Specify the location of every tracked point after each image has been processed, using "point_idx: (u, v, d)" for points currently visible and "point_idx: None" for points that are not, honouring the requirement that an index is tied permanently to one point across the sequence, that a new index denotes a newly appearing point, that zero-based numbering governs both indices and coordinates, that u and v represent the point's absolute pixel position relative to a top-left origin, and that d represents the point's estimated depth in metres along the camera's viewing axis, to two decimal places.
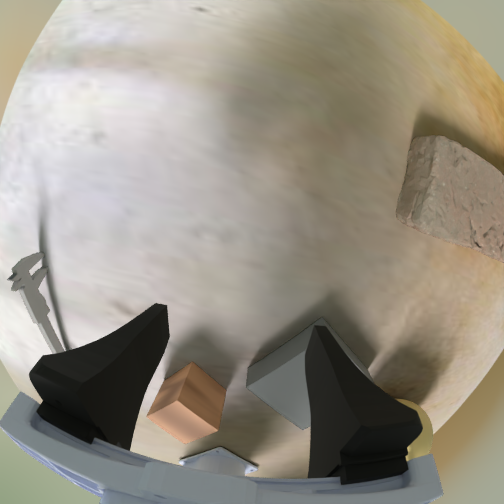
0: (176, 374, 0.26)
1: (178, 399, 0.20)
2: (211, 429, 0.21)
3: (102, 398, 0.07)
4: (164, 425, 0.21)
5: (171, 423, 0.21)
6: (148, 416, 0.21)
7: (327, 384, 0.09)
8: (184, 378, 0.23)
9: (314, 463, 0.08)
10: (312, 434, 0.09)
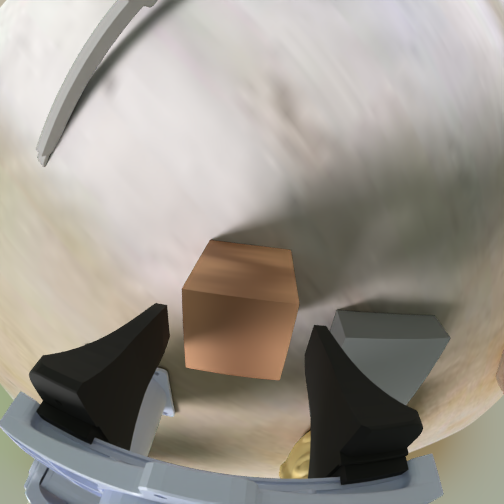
0: (250, 248, 0.16)
1: (298, 303, 0.11)
2: (272, 373, 0.13)
3: (102, 398, 0.07)
4: (198, 323, 0.12)
5: (219, 329, 0.12)
6: (187, 291, 0.11)
7: (327, 384, 0.09)
8: (290, 268, 0.14)
9: (314, 463, 0.08)
10: (312, 434, 0.09)
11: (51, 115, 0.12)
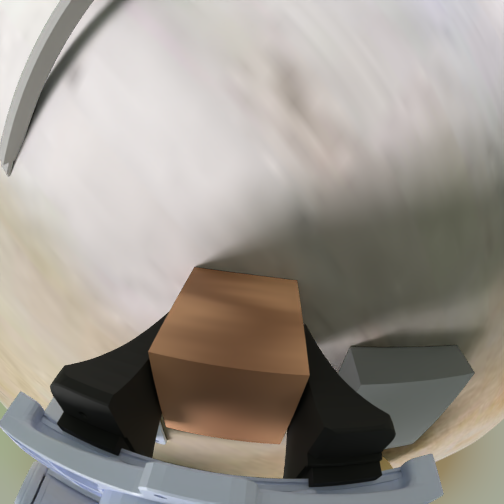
0: (245, 280, 0.12)
1: (308, 372, 0.08)
2: (271, 439, 0.09)
3: (130, 408, 0.06)
4: (175, 389, 0.08)
5: (202, 398, 0.08)
6: (156, 355, 0.08)
7: None
8: (296, 312, 0.11)
9: (288, 463, 0.08)
10: (288, 433, 0.09)
11: (9, 117, 0.09)
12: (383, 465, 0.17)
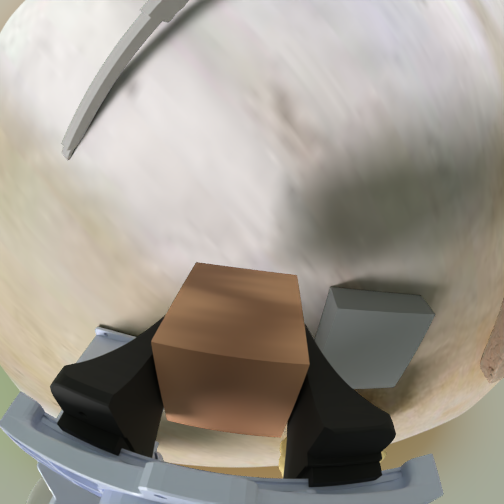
0: (246, 274, 0.13)
1: (308, 362, 0.08)
2: (272, 432, 0.10)
3: (130, 408, 0.06)
4: (176, 380, 0.09)
5: (203, 389, 0.09)
6: (158, 344, 0.08)
7: None
8: (296, 305, 0.11)
9: (288, 463, 0.08)
10: (288, 433, 0.09)
11: (78, 114, 0.15)
12: None
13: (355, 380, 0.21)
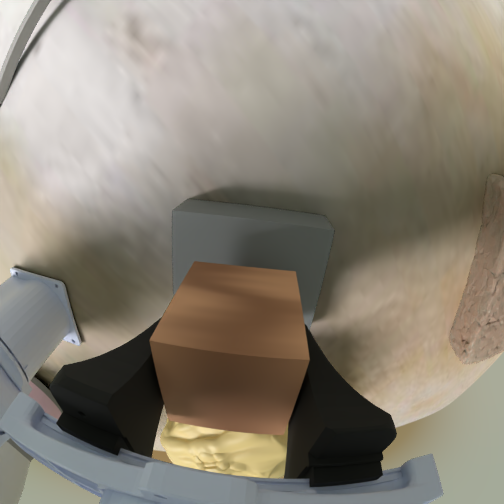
0: (244, 272, 0.13)
1: None
2: (274, 429, 0.09)
3: (129, 408, 0.06)
4: (176, 379, 0.08)
5: (203, 387, 0.09)
6: (157, 343, 0.08)
7: None
8: (295, 301, 0.11)
9: (289, 463, 0.08)
10: (288, 433, 0.09)
11: (0, 75, 0.11)
12: None
13: None
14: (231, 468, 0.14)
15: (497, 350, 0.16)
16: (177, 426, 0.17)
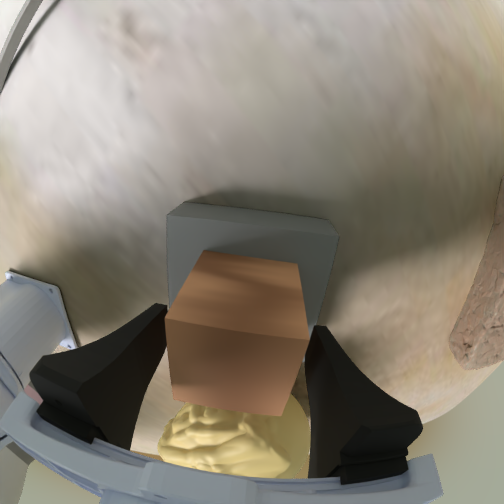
0: (250, 261, 0.14)
1: (308, 338, 0.09)
2: (273, 410, 0.11)
3: (102, 398, 0.07)
4: (186, 356, 0.10)
5: (211, 364, 0.10)
6: (171, 320, 0.09)
7: (327, 384, 0.09)
8: (297, 289, 0.12)
9: (314, 463, 0.08)
10: (312, 434, 0.09)
11: None
12: None
13: None
14: None
15: (496, 359, 0.15)
16: (174, 436, 0.16)
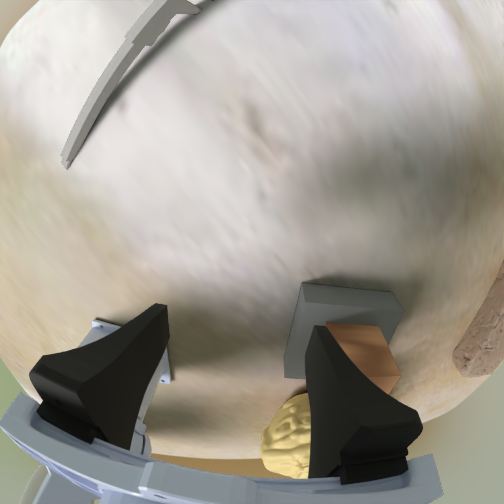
0: (355, 328, 0.20)
1: (400, 375, 0.16)
2: None
3: (102, 398, 0.07)
4: None
5: None
6: None
7: (327, 384, 0.09)
8: (386, 346, 0.18)
9: (314, 463, 0.08)
10: (312, 434, 0.09)
11: (75, 130, 0.17)
12: None
13: None
14: None
15: (484, 372, 0.22)
16: (280, 441, 0.23)
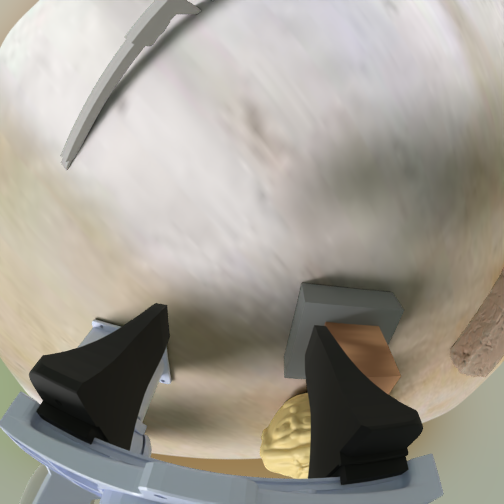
0: (355, 328, 0.20)
1: (400, 375, 0.16)
2: None
3: (102, 398, 0.07)
4: None
5: None
6: None
7: (327, 384, 0.09)
8: (386, 346, 0.18)
9: (314, 463, 0.08)
10: (312, 434, 0.09)
11: (74, 130, 0.17)
12: None
13: None
14: None
15: (480, 372, 0.22)
16: (280, 441, 0.23)
